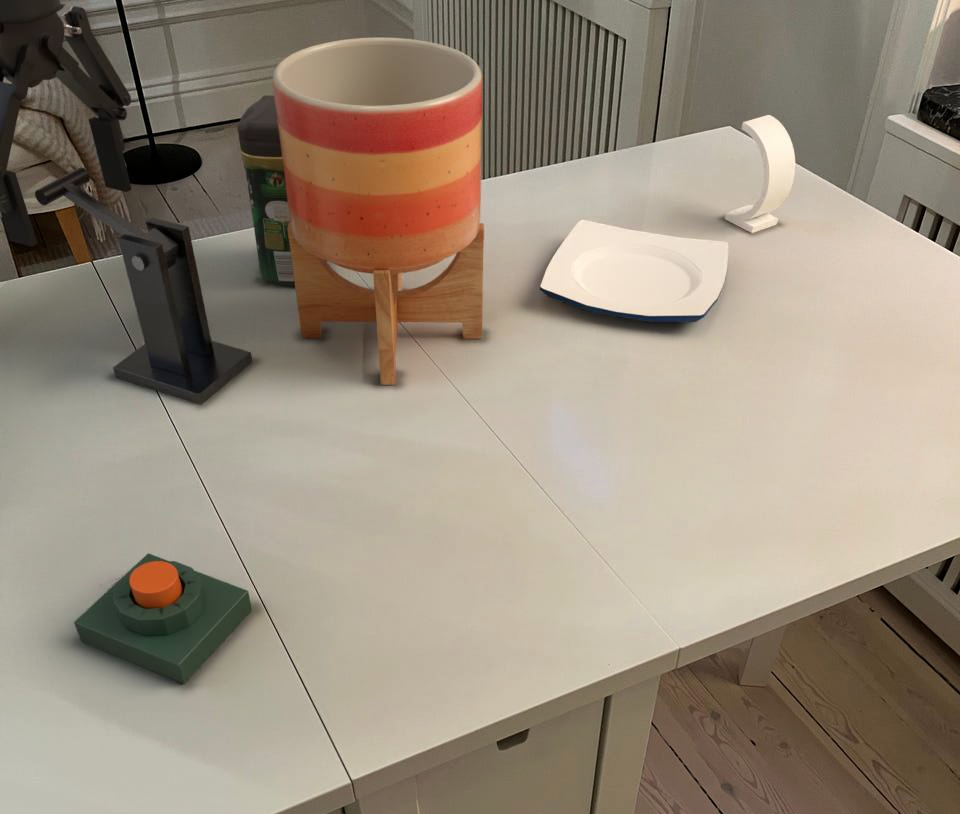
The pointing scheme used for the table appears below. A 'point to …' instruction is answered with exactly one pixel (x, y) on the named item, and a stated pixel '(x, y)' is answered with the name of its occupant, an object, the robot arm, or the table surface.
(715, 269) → the plate
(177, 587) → the button
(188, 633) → the control block
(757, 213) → the headphone stand
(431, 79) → the planter
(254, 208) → the coffee jar
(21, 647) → the table surface
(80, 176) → the lever
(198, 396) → the bracket
